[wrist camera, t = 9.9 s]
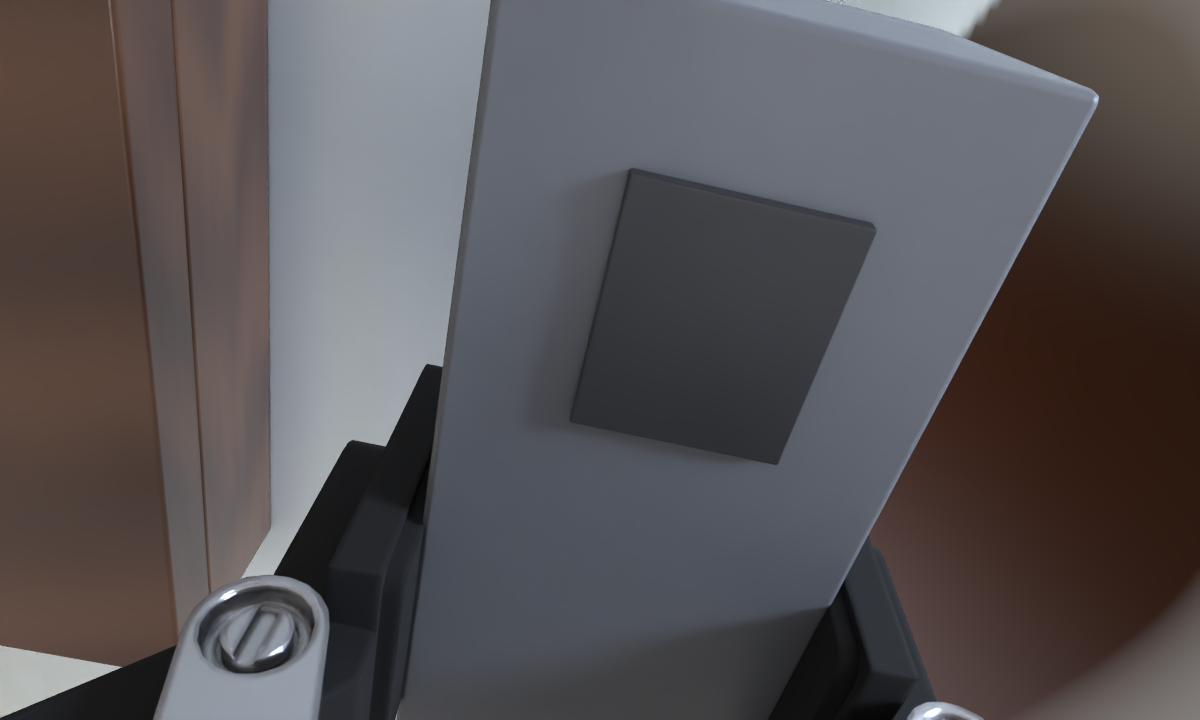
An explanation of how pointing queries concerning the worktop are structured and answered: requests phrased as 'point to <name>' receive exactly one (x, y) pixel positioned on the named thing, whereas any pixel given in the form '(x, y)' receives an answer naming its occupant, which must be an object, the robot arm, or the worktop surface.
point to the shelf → (130, 317)
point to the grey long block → (701, 337)
